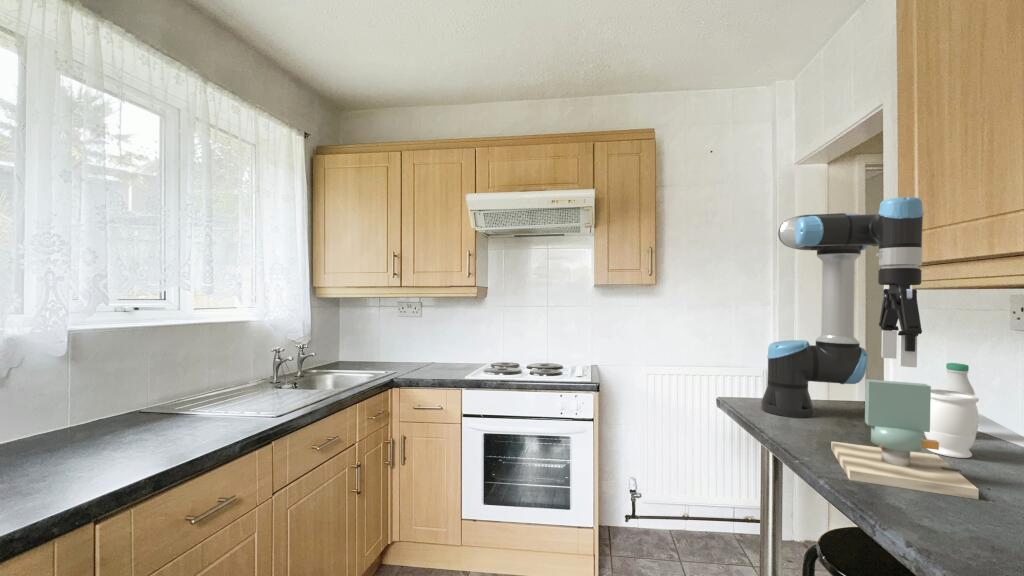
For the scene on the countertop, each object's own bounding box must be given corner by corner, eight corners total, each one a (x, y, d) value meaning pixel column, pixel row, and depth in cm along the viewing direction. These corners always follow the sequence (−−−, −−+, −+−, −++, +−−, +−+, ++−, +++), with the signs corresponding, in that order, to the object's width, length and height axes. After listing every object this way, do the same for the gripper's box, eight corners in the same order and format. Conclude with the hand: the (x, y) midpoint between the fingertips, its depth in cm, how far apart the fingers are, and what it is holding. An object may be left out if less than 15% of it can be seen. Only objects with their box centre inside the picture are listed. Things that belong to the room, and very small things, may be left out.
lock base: (830, 448, 122) (831, 426, 122) (939, 462, 113) (939, 438, 113) (849, 479, 103) (850, 453, 102) (983, 500, 94) (983, 471, 93)
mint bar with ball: (861, 435, 114) (862, 376, 114) (929, 443, 109) (930, 382, 109) (871, 447, 106) (872, 384, 106) (945, 456, 101) (947, 390, 100)
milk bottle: (950, 438, 132) (951, 365, 132) (930, 429, 139) (932, 361, 139) (982, 439, 130) (984, 366, 130) (961, 431, 138) (962, 362, 138)
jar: (970, 450, 122) (971, 392, 122) (984, 463, 113) (985, 400, 113) (916, 443, 127) (917, 386, 127) (925, 454, 118) (927, 394, 118)
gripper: (865, 269, 120) (863, 353, 120) (896, 265, 97) (894, 369, 97) (902, 269, 117) (900, 356, 117) (943, 265, 94) (941, 372, 94)
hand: (897, 362), depth 107 cm, fingers open, 13 cm apart
